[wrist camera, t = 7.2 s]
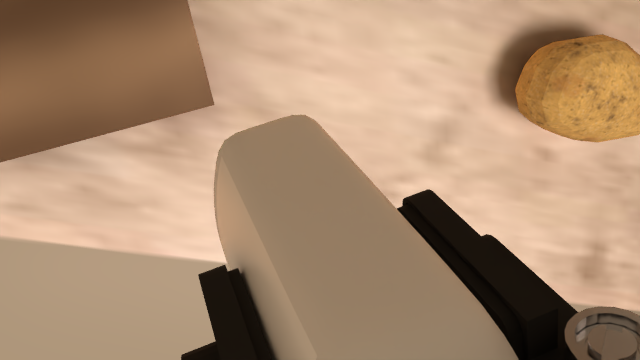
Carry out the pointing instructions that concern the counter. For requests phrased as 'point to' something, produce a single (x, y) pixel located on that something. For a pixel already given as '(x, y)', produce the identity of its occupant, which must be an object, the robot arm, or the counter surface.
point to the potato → (583, 89)
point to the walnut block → (93, 69)
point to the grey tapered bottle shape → (337, 256)
